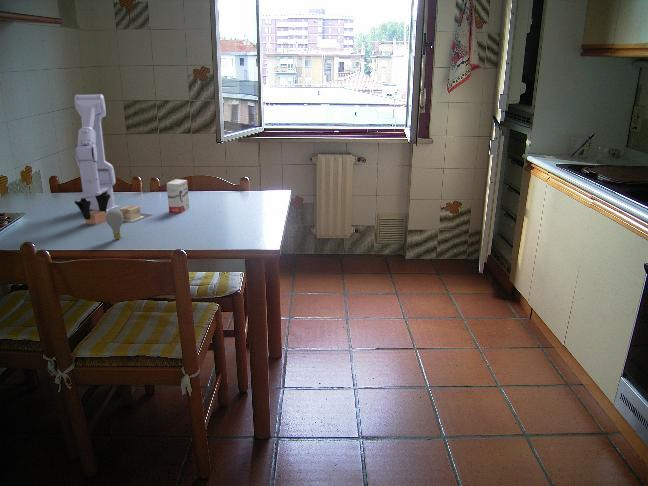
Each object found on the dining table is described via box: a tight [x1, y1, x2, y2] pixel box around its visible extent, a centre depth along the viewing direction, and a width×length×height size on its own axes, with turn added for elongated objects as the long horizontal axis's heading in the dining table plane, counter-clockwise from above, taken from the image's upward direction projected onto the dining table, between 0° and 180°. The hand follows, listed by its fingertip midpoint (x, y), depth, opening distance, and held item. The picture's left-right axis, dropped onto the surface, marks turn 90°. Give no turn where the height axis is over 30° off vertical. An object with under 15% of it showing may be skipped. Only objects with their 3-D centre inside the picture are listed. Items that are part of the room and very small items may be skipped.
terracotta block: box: [84, 210, 107, 226], centre depth 196 cm, size 5×5×4 cm
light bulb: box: [106, 209, 124, 240], centre depth 177 cm, size 5×5×10 cm
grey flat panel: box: [123, 212, 153, 224], centre depth 203 cm, size 14×12×1 cm
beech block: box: [119, 205, 141, 220], centre depth 201 cm, size 5×5×4 cm
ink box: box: [166, 178, 190, 214], centre depth 210 cm, size 9×5×12 cm, turn 169°
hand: (95, 216), depth 196 cm, fingers open, 7 cm apart
